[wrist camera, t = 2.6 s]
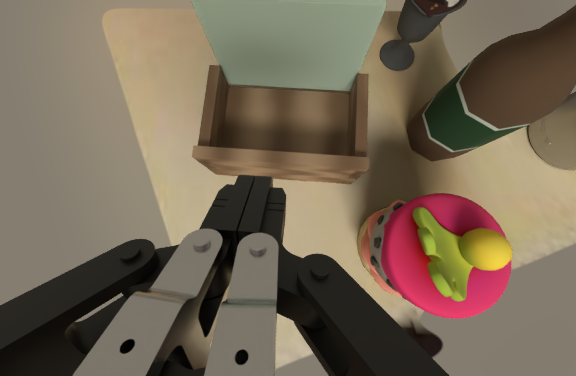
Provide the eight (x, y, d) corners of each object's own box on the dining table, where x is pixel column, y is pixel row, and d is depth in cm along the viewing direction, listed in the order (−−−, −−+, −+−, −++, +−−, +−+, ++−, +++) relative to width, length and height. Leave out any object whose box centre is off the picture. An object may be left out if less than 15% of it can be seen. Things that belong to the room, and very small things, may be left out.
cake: (407, 189, 32) (505, 154, 17) (455, 262, 30) (610, 293, 16) (338, 229, 31) (379, 227, 17) (384, 306, 30) (474, 381, 15)
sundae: (404, 28, 36) (481, -113, 21) (428, 64, 35) (527, -58, 20) (365, 46, 36) (416, -84, 21) (388, 83, 35) (460, -26, 20)
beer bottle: (408, 104, 34) (673, -184, 10) (465, 115, 34) (877, -160, 10) (401, 157, 33) (682, -34, 9) (459, 168, 32) (916, 1, 9)
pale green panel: (350, 80, 32) (386, -13, 20) (350, 92, 32) (386, 6, 19) (230, 73, 32) (192, -21, 20) (228, 85, 32) (189, -3, 20)
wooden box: (353, 105, 34) (371, 68, 26) (350, 184, 32) (369, 168, 24) (226, 98, 35) (206, 59, 27) (216, 174, 33) (191, 156, 25)
